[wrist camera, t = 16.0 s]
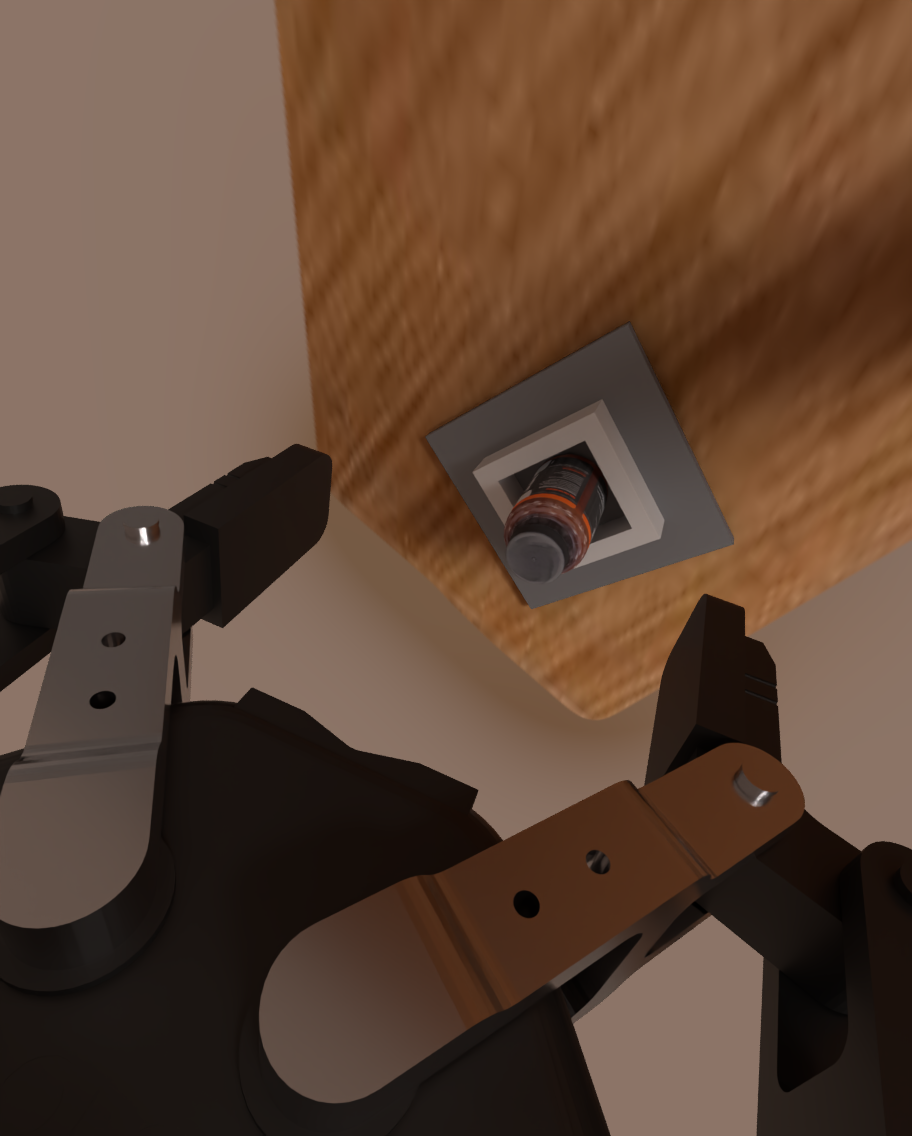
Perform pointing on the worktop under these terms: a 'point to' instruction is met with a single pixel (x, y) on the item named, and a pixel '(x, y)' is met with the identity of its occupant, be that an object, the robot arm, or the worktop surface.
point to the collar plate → (611, 441)
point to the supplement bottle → (555, 519)
